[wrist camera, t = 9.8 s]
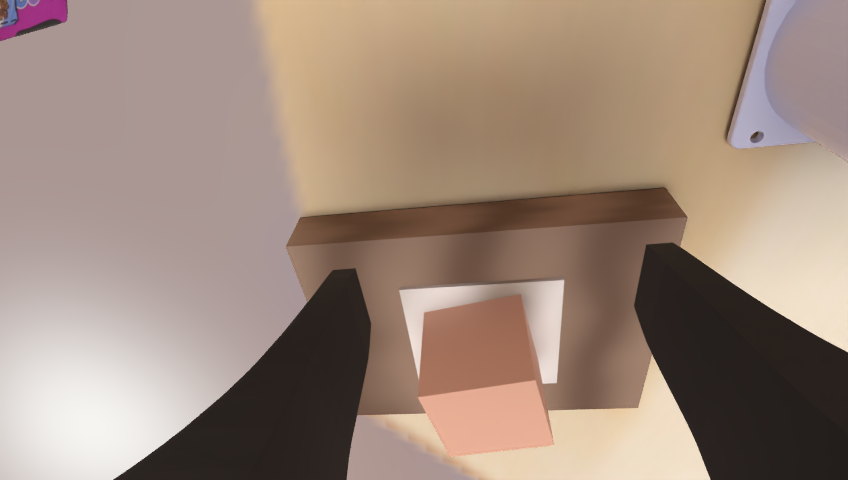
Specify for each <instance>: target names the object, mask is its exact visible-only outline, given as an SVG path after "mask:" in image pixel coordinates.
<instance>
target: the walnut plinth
mask: <svg viewBox="0 0 848 480" xmlns="http://www.w3.org/2000/svg"><path fill="white" fill-rule="evenodd" d="M686 221H687V216H686V214H685V213H684V212H683V211H682V209H681V208H680V207H679V205H678V204H677V203H676V201H675V200H674V199H673V197H672V196H671V195H670V193H669V192H668V191H667V190H666V188H658V189H646V190H634V191H622V192H609V193H597V194H585V195H572V196H560V197H548V198H536V199H523V200H511V201H499V202H487V203H474V204H462V205H450V206H438V207H425V208H413V209H401V210H388V211H376V212H364V213H352V214H339V215H327V216H315V217H303V218H300V219H299V221H298V223H297V225H296V227H295V229H294V231H293V233H292V235H291V237H290V239H289V242H288V243H287V245H286V249H287V251H288V254H289V256H290V259H291V261H292V264H293V266H294V269H295V272H296V274H297V277H298V279H299V282H300V284H301V287H302V289H303V292H304V295H305V297H306V300H307V302H308V301H309V300H310V299H311V297H312V296H313V295H314V293H315V292H316V291H317V289H318V288H319V287H320V285H321V284H322V283H323V281H324V280H325V279H326V278H327V276H328V275H329V274H330V273H331V272H332V270H339V269H352V268H356V272H357V275H358V279H359V282H360V286H361V289H362V293H363V296H364V300H365V303H366V307H367V310H368V314H369V317H370V321H371V334H370V348H369V359H368V364H367V369H366V374H365V379H364V384H363V389H362V394H361V398H360V403H359V408H358V413H357V415H381V414H419V413H426V412H425V410H424V408H423V406H422V404H421V403H420V401H419V399H418V387H419V373H420V360H421V346H422V333H423V319H424V312H430V311H435V310H440V309H445V308H450V307H456V306H461V305H466V304H471V303H477V302H482V301H487V300H492V299H497V298H503V297H508V296H513V295H518V294H521V297H522V301H523V305H524V309H525V312H526V316H527V320H528V323H529V327H530V331H531V335H532V338H533V342H534V346H535V350H536V353H537V357H538V362H539V367H540V373H541V378H542V383H543V389H544V394H545V399H546V405H547V410H574V409H613V408H638V406H639V402H640V398H641V394H642V390H643V387H644V383H645V379H646V375H647V371H648V367H649V363H650V360H651V356H652V353H651V351H650V349H649V347H648V345H647V342H646V340H645V337H644V334H643V331H642V329H641V326H640V323H639V320H638V317H637V314H636V311H635V308H634V302H635V297H636V292H637V287H638V282H639V277H640V273H641V268H642V263H643V258H644V253H645V248H646V244H659V243H671V242H673V243H674V244H676V245H678V246H679V247H680V244H681V241H682V237H683V233H684V229H685V225H686Z"/></svg>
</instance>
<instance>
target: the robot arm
mask: <svg viewBox="0 0 848 480" xmlns="http://www.w3.org/2000/svg"><path fill="white" fill-rule="evenodd" d="M758 131H759V133H758V135H757V136H756V137H755V138H753V139H750V137H751V136H752V134H754V133H755V132H758ZM727 141H728V143H729V144H730V145H731V146H732V147H734V148H737V149H744V148H755V147H766V146H777V145H788V144H799V143H811V142H817V143H819V144H820V145H822V146H824V147H825V148H827V149H828V150H830V151H831V152H833V153H834V154H836V155H838V156H839V157H841V158H842V159H844V160H845V161H847V162H848V0H766V4H765V7H764V11H763V14H762V18H761V21H760V25H759V28H758V32H757V35H756V39H755V42H754V46H753V49H752V53H751V56H750V60H749V63H748V67H747V70H746V74H745V77H744V80H743V84H742V87H741V91H740V94H739V98H738V101H737V105H736V108H735V112H734V115H733V119H732V122H731V126H730V129H729V133H728V137H727ZM634 308H635V311H636V314H637V317H638V320H639V323H640V326H641V329H642V331H643V334H644V337H645V340H646V342H647V345H648V347H649V349H650V351H651V353H652V355H653V357H654V359H655V361H656V363H657V365H658V367H659V369H660V371H661V373H662V375H663V377H664V379H665V381H666V383H667V385H668V386H669V388H670V390H671V392H672V394H673V396H674V398H675V400H676V402H677V404H678V406H679V408H680V410H681V412H682V414H683V416H684V418H685V420H686V422H687V424H688V426H689V428H690V430H691V432H692V435H693V437H694V439H695V441H696V443H697V446H698V448H699V451H700V453H701V456H702V459H703V461H704V464H705V466H706V469H707V471H708V474H709V477H710V479H711V480H848V352H846V351H844V350H842V349H840V348H838V347H837V346H835V345H833V344H831V343H829V342H827V341H825V340H823V339H822V338H820V337H818V336H816V335H814V334H813V333H811V332H809V331H807V330H806V329H804V328H802V327H801V326H799V325H797V324H796V323H794V322H792V321H791V320H789V319H787V318H786V317H784V316H782V315H781V314H779V313H777V312H776V311H774V310H772V309H771V308H769V307H768V306H766V305H765V304H763V303H761V302H760V301H758V300H757V299H755V298H754V297H752V296H751V295H749V294H748V293H746V292H745V291H743V290H742V289H740V288H739V287H737V286H736V285H734V284H733V283H731V282H730V281H728V280H727V279H725V278H724V277H723V276H721V275H720V274H718V273H717V272H715V271H714V270H713V269H711V268H710V267H708V266H707V265H705V264H704V263H702V262H701V261H700V260H698V259H697V258H695V257H694V256H692V255H691V254H690V253H688V252H687V251H685V250H684V249H682V248H681V247H679V246H678V245H676V244H674V243H673V242H671V243H659V244H646V248H645V253H644V258H643V263H642V268H641V273H640V277H639V282H638V287H637V292H636V297H635V302H634ZM370 334H371V321H370V317H369V314H368V310H367V307H366V303H365V300H364V296H363V293H362V289H361V286H360V282H359V279H358V275H357V272H356V268H352V269H339V270H332V272H331V273H330V274H329V275H328V276H327V278H326V279H325V280H324V281H323V283H322V284H321V285H320V287H319V288H318V289H317V291H316V292H315V293H314V295H313V296H312V297H311V299H310V300H309V301H308V302H307V304H306V305H305V306H304V308H303V309H302V310H301V311H300V313H299V314H298V315H297V316H296V318H295V319H294V320H293V321H292V323H291V324H290V325H289V326H288V327H287V329H286V330H285V331H284V332H283V333H282V335H281V336H280V337H279V338H278V339H277V340H276V341H275V343H274V344H273V345H272V346H271V347H270V348H269V349H268V351H267V352H266V353H265V354H264V355H263V356H262V357H261V358H260V359H259V361H258V362H257V363H256V364H255V365H254V366H253V367H252V368H251V369H250V370H249V371H248V372H247V373H246V374H245V375H244V376H243V377H242V378H241V379H240V380H239V381H238V382H236V383H235V384H234V385H233V386H232V387H231V388H230V389H229V390H228V391H227V392H226V393H225V394H224V395H223V396H222V397H220V398H219V399H218V400H217V401H216V402H214V403H213V404H212V405H211V406H210V407H209V408H208V409H206V410H205V411H204V412H203V413H202V414H200V415H199V416H198V417H197V418H196V419H194V420H193V421H192V422H191V423H190V424H189V425H187V426H186V427H185V428H184V429H183V430H181V431H180V432H179V433H177V434H176V435H175V436H173V437H172V438H171V439H169V440H168V441H167V442H166V443H164V444H163V445H162V446H160V447H159V448H158V449H156V450H155V451H154V452H152V453H151V454H149V455H148V456H147V457H145V458H144V459H143V460H141V461H140V462H138V463H137V464H136V465H134V466H133V467H131V468H130V469H128V470H127V471H126V472H124V473H123V474H121V475H120V476H118V477H117V478H115V479H114V480H346V479H347V470H348V461H349V454H350V448H351V441H352V436H353V432H354V427H355V422H356V417H357V413H358V408H359V403H360V398H361V394H362V389H363V384H364V379H365V374H366V369H367V364H368V359H369V348H370Z"/></svg>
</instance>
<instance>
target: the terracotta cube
mask: <svg viewBox="0 0 848 480" xmlns="http://www.w3.org/2000/svg"><path fill="white" fill-rule="evenodd" d="M418 399H419V401H420V403H421V404H422V406H423V408H424V410H425V412H426V414H427V415H428V417H429V419H430V421H431V423H432V424H433V426H434V428H435V430H436V432H437V434H438V435H439V437H440V439H441V441H442V443H443V445H444V446H445V448H446V450H447V452H448V454H449V456H450V457H452V456H461V455H470V454H479V453H488V452H497V451H505V450H514V449H523V448H532V447H541V446H549V445H554V442H553V437H552V431H551V426H550V421H549V415H548V410H547V405H546V399H545V394H544V389H543V383H542V378H541V373H540V367H539V362H538V357H537V353H536V350H535V346H534V342H533V338H532V335H531V331H530V327H529V323H528V320H527V316H526V312H525V309H524V305H523V301H522V297H521V294H518V295H513V296H508V297H503V298H497V299H492V300H487V301H482V302H477V303H471V304H466V305H461V306H456V307H450V308H445V309H440V310H435V311H430V312H424V319H423V333H422V346H421V360H420V373H419V387H418Z"/></svg>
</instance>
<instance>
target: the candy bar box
mask: <svg viewBox="0 0 848 480" xmlns="http://www.w3.org/2000/svg"><path fill="white" fill-rule="evenodd" d="M67 13H68V12H67V0H0V41H2V40H6V39H9V38H12V37H16V36H20V35H23V34H26V33H30V32H33V31H37V30H40V29H44V28H47V27H50V26H54V25H57V24H60V23H63V22H66V21H67Z"/></svg>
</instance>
